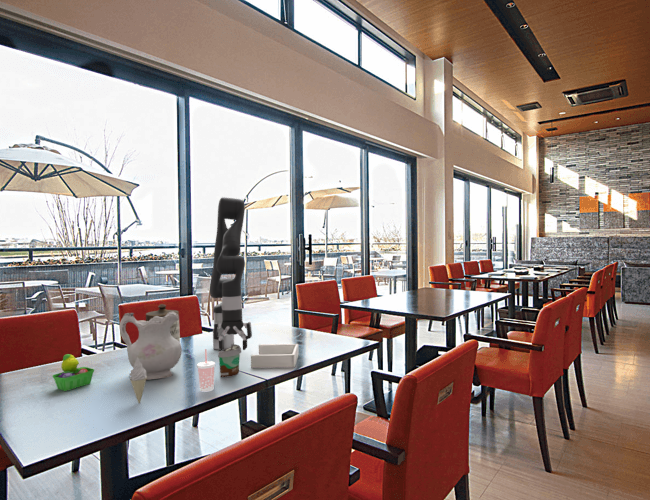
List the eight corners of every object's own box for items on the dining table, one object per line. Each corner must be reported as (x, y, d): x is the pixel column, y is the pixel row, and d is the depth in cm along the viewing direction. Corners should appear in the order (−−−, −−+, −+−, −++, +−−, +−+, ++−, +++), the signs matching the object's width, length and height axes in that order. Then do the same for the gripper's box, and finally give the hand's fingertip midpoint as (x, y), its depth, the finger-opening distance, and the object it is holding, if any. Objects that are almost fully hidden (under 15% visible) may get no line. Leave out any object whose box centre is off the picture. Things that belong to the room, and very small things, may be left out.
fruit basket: (63, 393, 145) (62, 360, 145) (50, 388, 150) (49, 357, 149) (95, 383, 154) (94, 352, 154) (82, 379, 159) (81, 349, 159)
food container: (234, 379, 156) (233, 352, 156) (218, 378, 157) (218, 351, 157) (246, 369, 168) (246, 344, 168) (232, 368, 169) (231, 343, 169)
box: (251, 367, 169) (250, 355, 169) (259, 355, 187) (258, 344, 187) (294, 367, 169) (294, 355, 169) (298, 355, 187) (298, 343, 187)
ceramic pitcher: (122, 390, 149) (120, 321, 147) (120, 371, 167) (118, 309, 164) (185, 380, 159) (185, 315, 157) (177, 363, 177) (177, 304, 174)
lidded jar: (164, 356, 190) (163, 307, 189) (139, 353, 196) (137, 306, 195) (186, 347, 204) (185, 302, 203) (162, 345, 209) (161, 301, 209)
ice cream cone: (133, 400, 136) (132, 354, 136) (150, 399, 137) (148, 354, 137) (128, 406, 131) (126, 359, 131) (144, 406, 132) (143, 358, 132)
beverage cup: (209, 385, 150) (208, 346, 150) (219, 388, 146) (218, 348, 146) (194, 390, 145) (192, 349, 145) (204, 393, 141) (203, 352, 141)
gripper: (252, 305, 166) (253, 347, 166) (216, 306, 166) (217, 347, 166) (248, 308, 158) (249, 352, 158) (210, 309, 158) (212, 352, 159)
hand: (233, 349), depth 162 cm, fingers open, 8 cm apart
